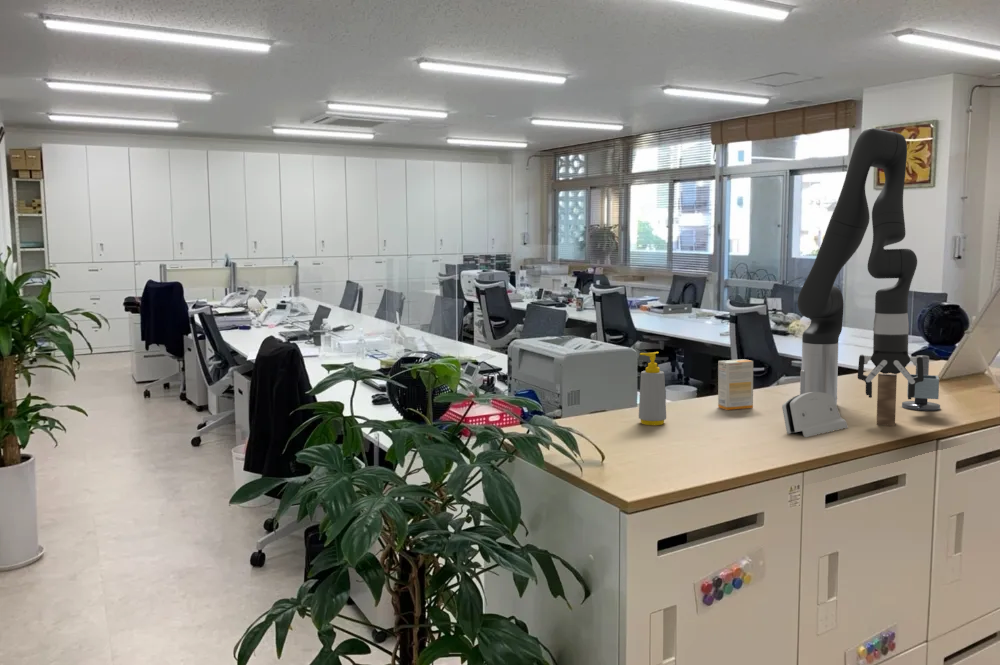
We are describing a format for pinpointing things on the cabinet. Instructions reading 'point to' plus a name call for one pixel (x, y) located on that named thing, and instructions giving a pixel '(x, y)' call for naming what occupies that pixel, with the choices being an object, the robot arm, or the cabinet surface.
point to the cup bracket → (924, 390)
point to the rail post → (886, 399)
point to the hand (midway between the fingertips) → (889, 398)
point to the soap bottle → (652, 394)
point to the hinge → (812, 414)
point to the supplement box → (735, 384)
